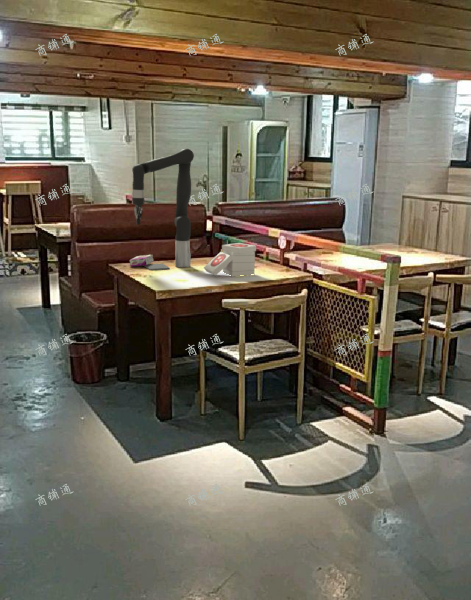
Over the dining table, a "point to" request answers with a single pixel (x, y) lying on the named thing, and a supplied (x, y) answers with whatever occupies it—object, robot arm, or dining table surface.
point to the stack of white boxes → (233, 260)
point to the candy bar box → (141, 260)
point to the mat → (157, 267)
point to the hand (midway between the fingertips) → (138, 224)
